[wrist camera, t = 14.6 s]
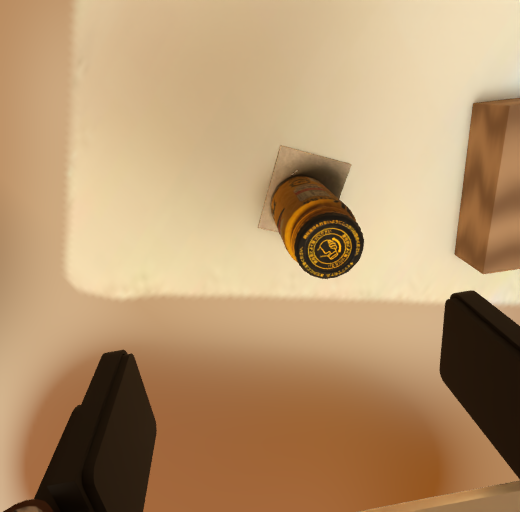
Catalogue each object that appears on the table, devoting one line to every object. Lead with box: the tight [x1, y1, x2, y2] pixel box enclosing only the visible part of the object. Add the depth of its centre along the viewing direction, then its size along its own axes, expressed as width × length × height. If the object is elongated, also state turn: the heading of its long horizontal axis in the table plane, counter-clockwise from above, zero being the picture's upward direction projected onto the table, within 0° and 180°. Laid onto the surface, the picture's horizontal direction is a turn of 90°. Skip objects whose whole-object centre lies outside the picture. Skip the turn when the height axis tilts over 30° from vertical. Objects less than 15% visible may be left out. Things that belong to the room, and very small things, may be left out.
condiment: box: [258, 146, 364, 279], centre depth 33 cm, size 7×8×12 cm
